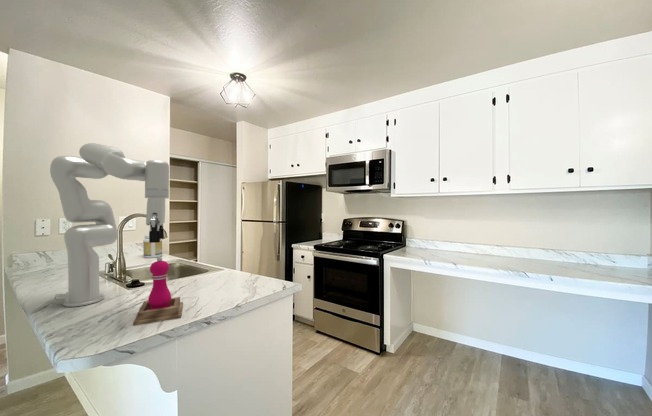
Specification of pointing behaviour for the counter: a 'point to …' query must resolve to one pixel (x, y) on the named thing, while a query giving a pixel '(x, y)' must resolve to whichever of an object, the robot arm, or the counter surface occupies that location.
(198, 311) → the counter surface
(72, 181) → the robot arm
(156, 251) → the supplement tub
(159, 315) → the wooden tray
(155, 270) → the pepper mill
